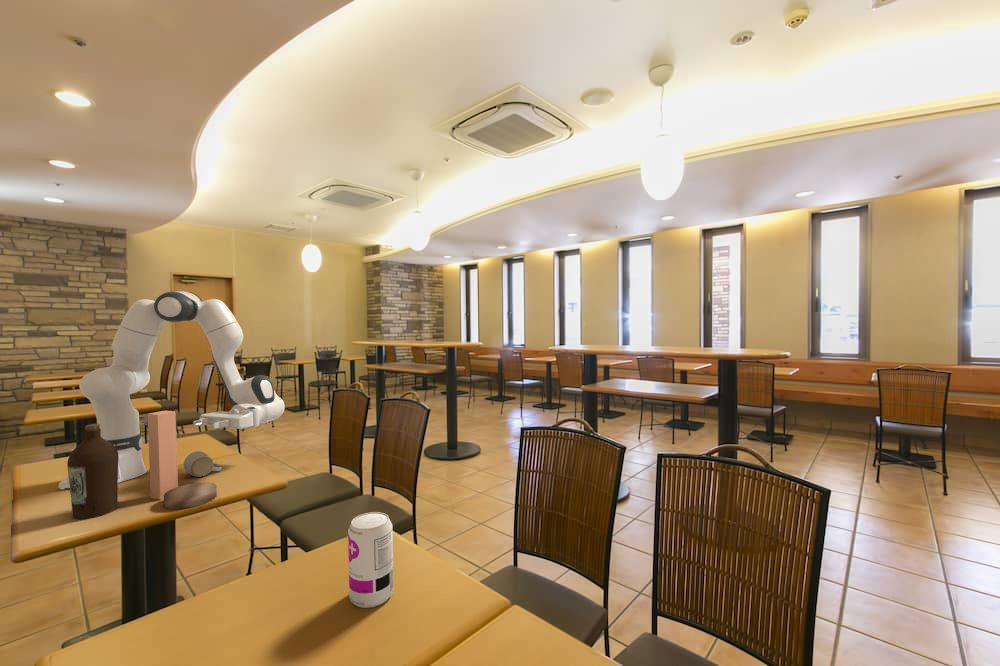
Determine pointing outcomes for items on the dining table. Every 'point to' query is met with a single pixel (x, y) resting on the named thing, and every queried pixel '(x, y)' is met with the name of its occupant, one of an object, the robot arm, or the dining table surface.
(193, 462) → the ceramic mug
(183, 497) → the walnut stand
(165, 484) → the terracotta post
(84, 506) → the olive oil
